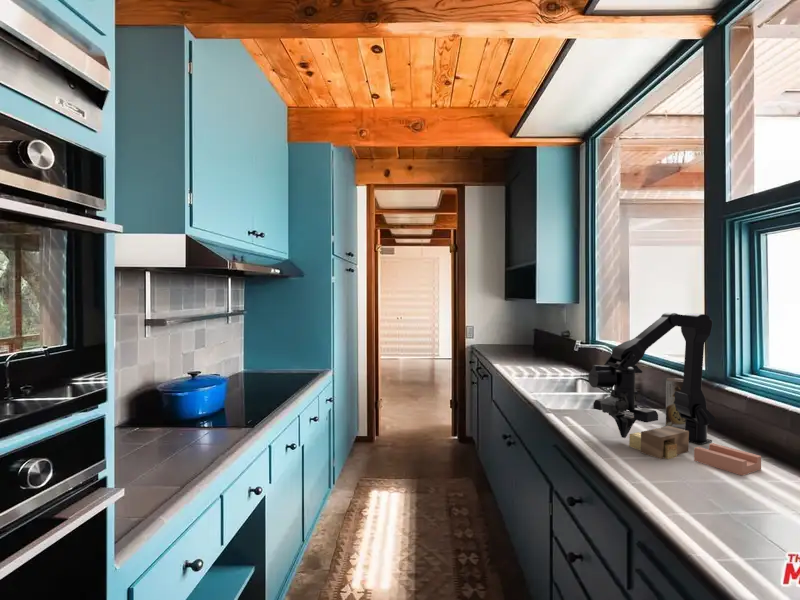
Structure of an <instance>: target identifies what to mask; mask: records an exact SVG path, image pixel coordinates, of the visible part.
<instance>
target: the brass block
mask: <svg viewBox="0 0 800 600" xmlns="http://www.w3.org/2000/svg"><path fill="white" fill-rule="evenodd" d="M628 437H629V441H628V442H629V443H628V444H629V445H628V446H629V447H630V448H633V449H635V450H639V451H641V432H632V433H629V436H628ZM677 456H678V455H677V444H676V443H672V442H669V441H666V440H664V447H663V458H662V459H665V460H669V459H674V458H677Z"/></svg>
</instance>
